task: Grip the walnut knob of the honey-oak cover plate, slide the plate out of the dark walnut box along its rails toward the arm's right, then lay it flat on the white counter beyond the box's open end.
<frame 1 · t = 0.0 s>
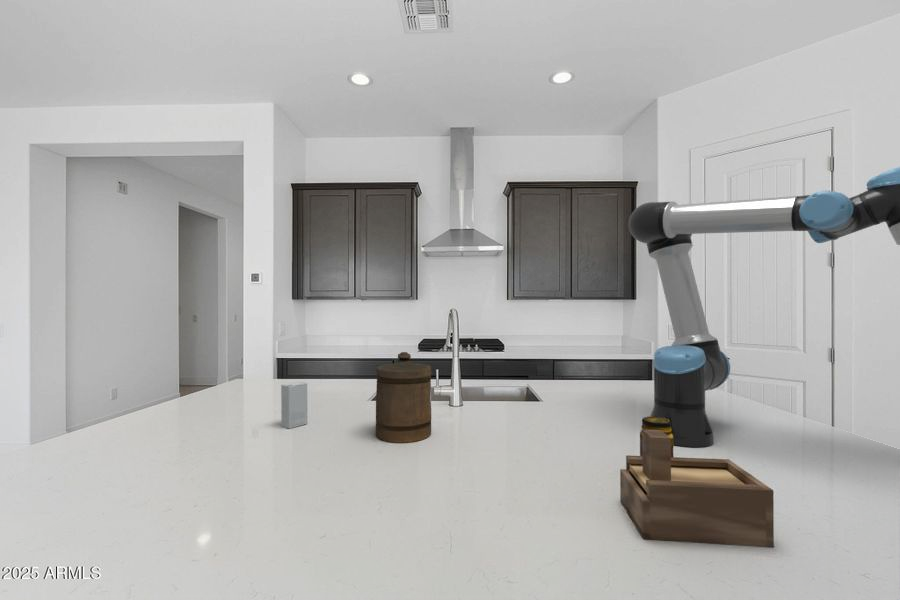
cover plate: (688, 484, 68), point 6 cm above the countertop, touching walnut box
condiment: (651, 479, 85), on the countertop
skincare box: (294, 426, 121), on the countertop
wooden container: (403, 434, 113), on the countertop
walnut box: (689, 521, 68), on the countertop
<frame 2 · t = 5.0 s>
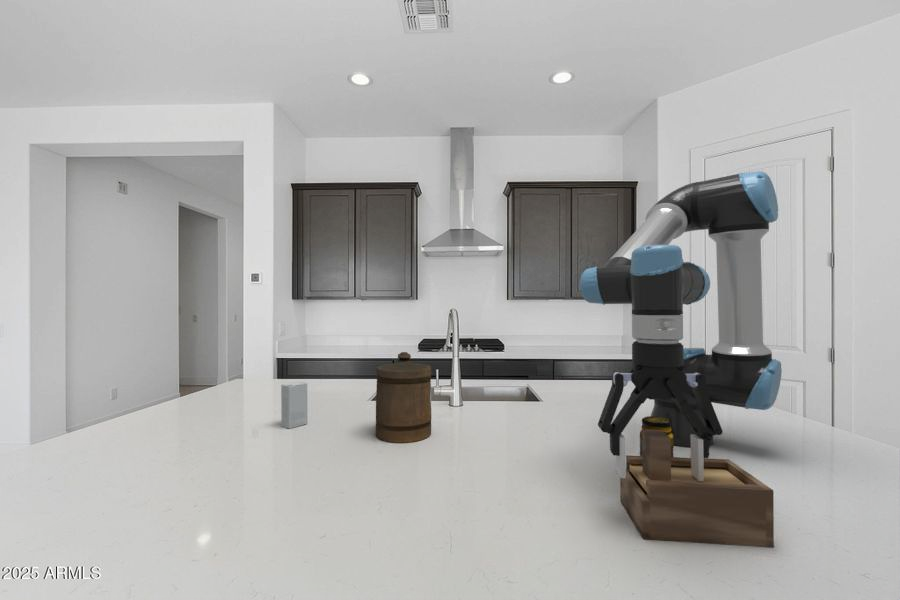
hand: (658, 476, 68), 7 cm above the countertop, tool pointing down, fingers open, 11 cm apart
cover plate: (688, 484, 68), point 6 cm above the countertop, touching gripper, walnut box
everything else where it was.
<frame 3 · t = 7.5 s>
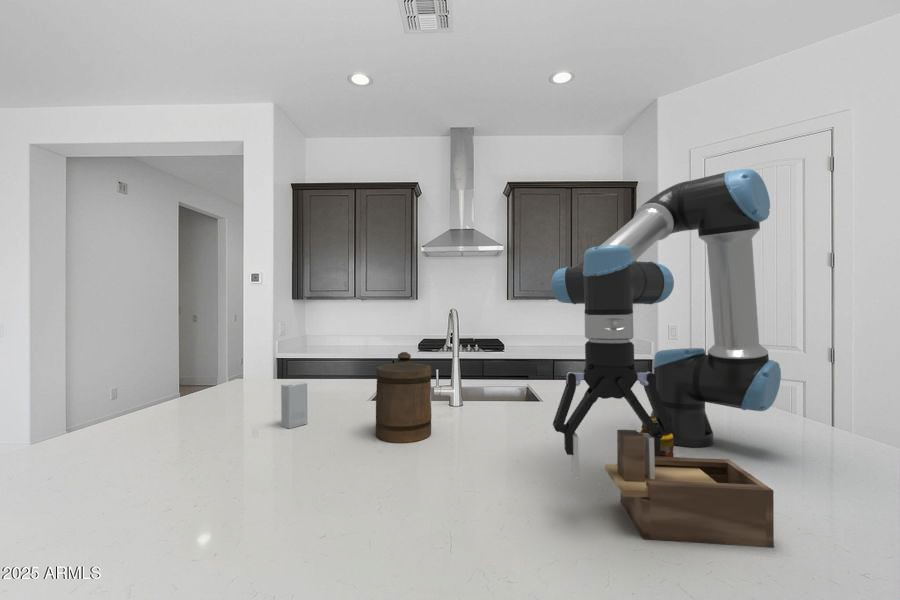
hand: (611, 475, 69), 7 cm above the countertop, tool pointing down, fingers open, 11 cm apart
cover plate: (662, 483, 68), point 6 cm above the countertop, touching gripper, walnut box
everything else where it was.
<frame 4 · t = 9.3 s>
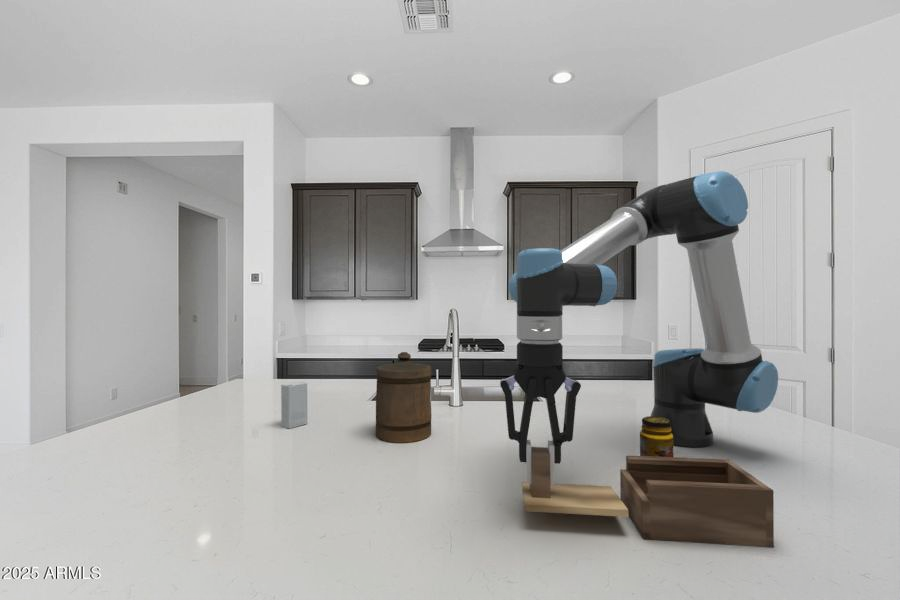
hand: (539, 481, 71), 5 cm above the countertop, tool pointing down, fingers closed on cover plate, 3 cm apart
cover plate: (570, 501, 70), point 3 cm above the countertop, touching gripper
everything else where it was.
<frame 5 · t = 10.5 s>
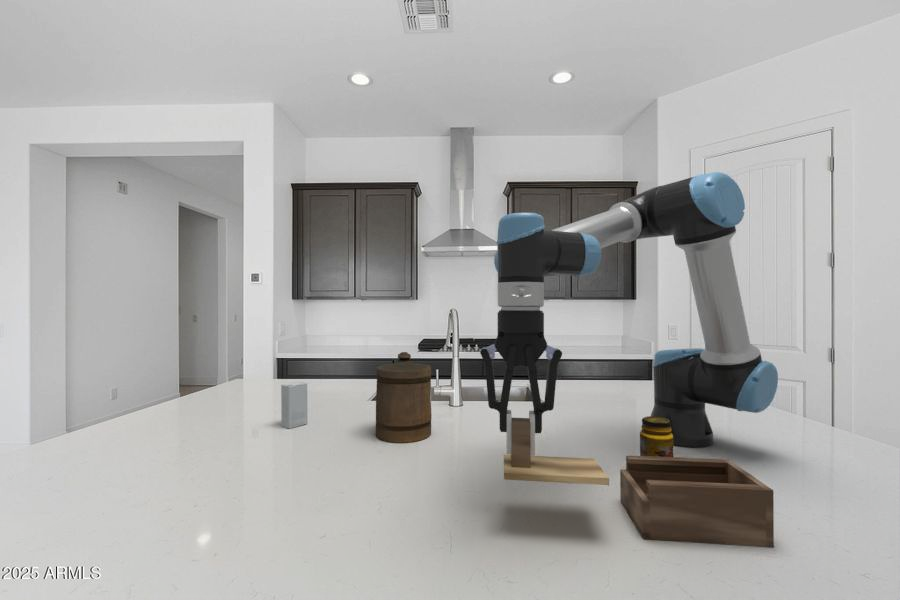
hand: (520, 451, 69), 11 cm above the countertop, tool pointing down, fingers closed on cover plate, 3 cm apart
cover plate: (551, 471, 68), point 8 cm above the countertop, touching gripper
everything else where it was.
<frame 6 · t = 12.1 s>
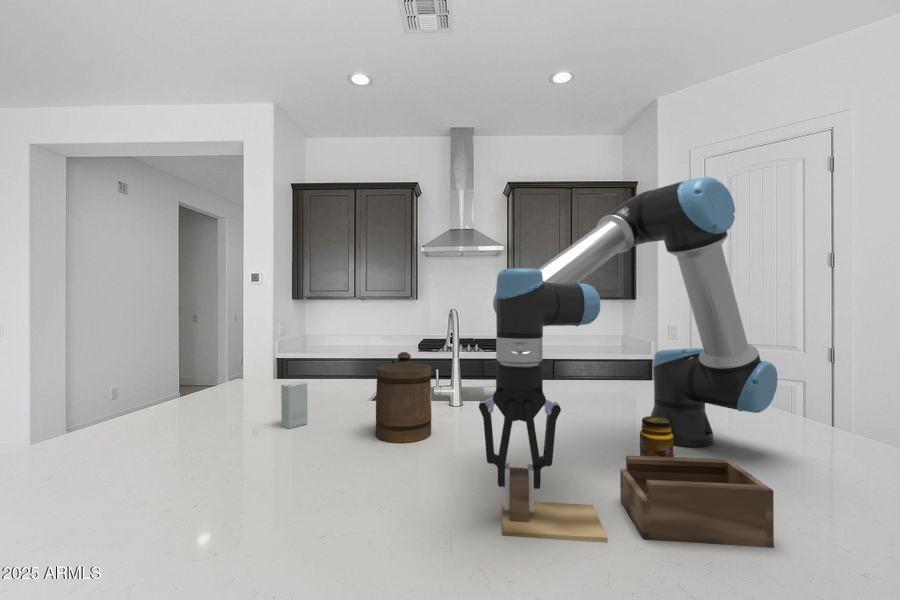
hand: (518, 506, 69), 2 cm above the countertop, tool pointing down, fingers closed on cover plate, 3 cm apart
cover plate: (550, 523, 68), on the countertop, touching gripper
everything else where it was.
when the fingers open (1 cm above the countertop, at t = 12.4 s): cover plate stays where it is, on the countertop.
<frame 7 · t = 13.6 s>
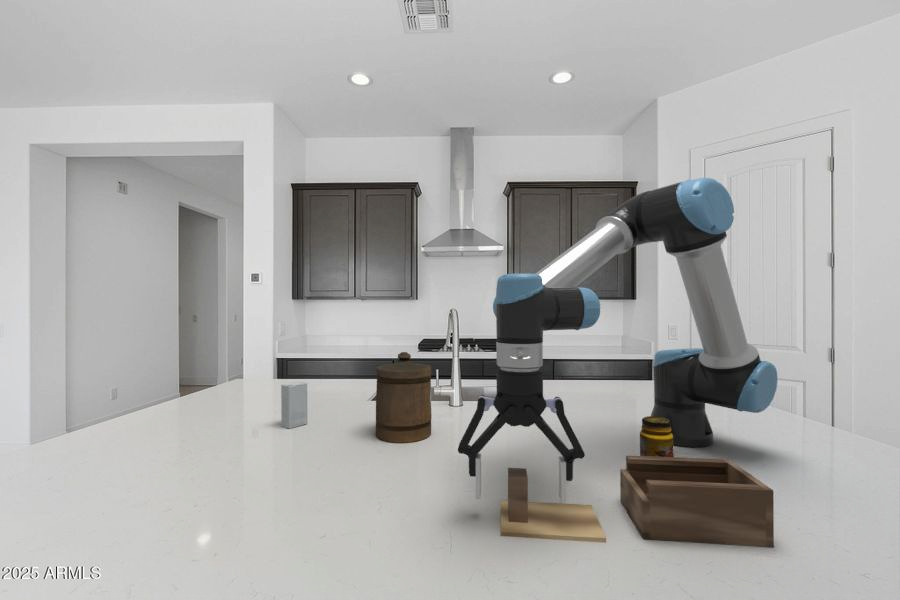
hand: (520, 497, 69), 3 cm above the countertop, tool pointing down, fingers open, 13 cm apart
cover plate: (548, 523, 68), on the countertop
everything else where it was.
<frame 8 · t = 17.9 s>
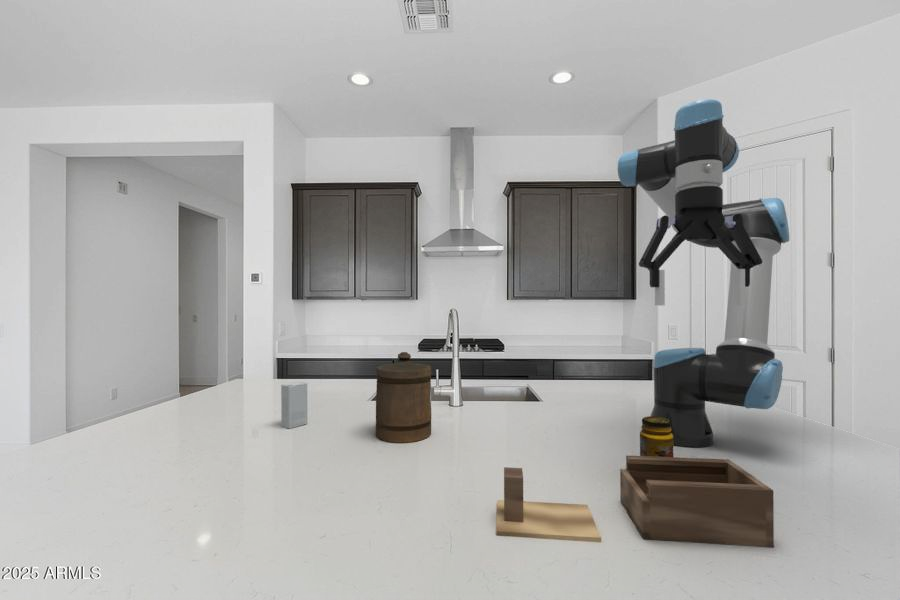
hand: (698, 305, 77), 35 cm above the countertop, tool pointing down, fingers open, 13 cm apart
nothing on the countertop moved.
at the end: cover plate inside the target area (0.4 cm from its centre), on the countertop; cover plate tilted 0°; the gripper is holding nothing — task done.
